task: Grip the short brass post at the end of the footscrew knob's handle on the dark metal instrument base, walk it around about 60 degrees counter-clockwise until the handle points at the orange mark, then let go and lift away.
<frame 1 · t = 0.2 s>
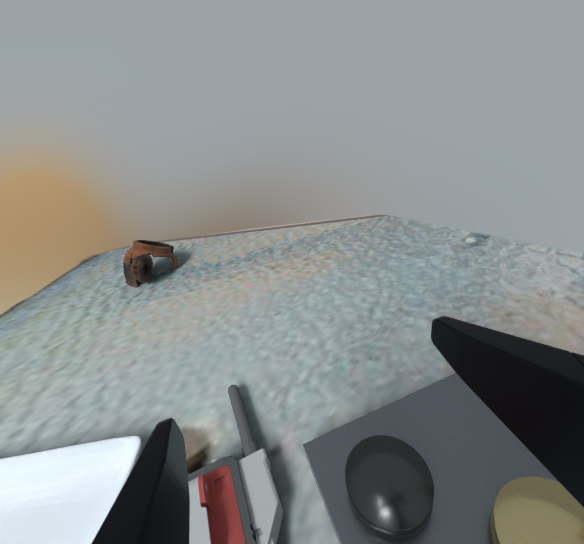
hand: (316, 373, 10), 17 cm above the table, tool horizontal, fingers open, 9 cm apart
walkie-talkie: (223, 520, 21), on the table
pottery mug: (153, 277, 58), on the table
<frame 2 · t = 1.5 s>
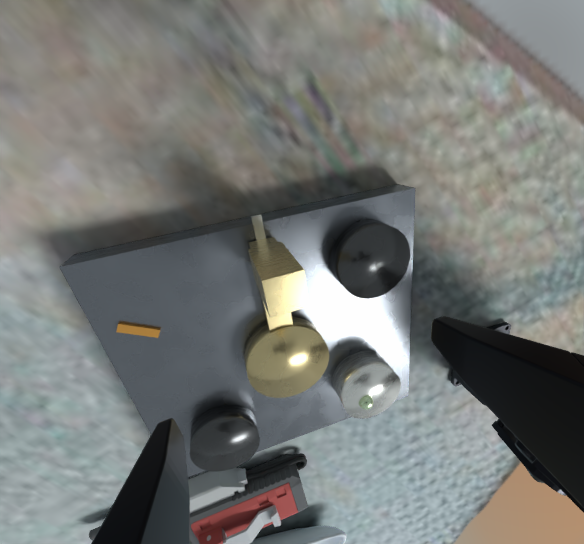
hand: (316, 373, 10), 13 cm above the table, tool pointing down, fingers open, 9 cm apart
instrument base: (277, 334, 24), on the table
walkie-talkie: (213, 491, 30), on the table
brass knob: (287, 342, 18), point 5 cm above the table, hinge at 0.0°, touching instrument base
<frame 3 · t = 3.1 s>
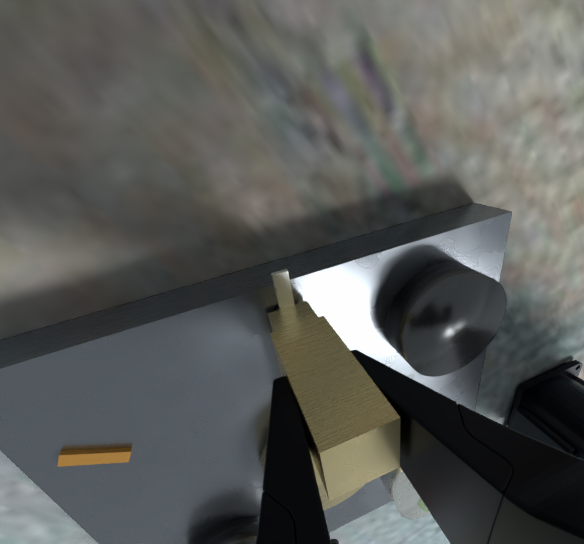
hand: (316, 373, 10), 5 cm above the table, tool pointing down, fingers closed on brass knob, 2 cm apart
instrument base: (302, 412, 17), on the table
brass knob: (333, 465, 12), point 5 cm above the table, hinge at 0.0°, touching gripper, instrument base
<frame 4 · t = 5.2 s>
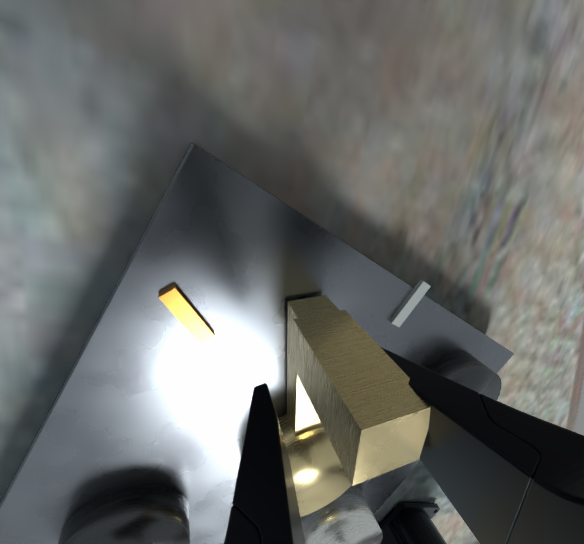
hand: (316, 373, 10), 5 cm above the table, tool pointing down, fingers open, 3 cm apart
instrument base: (287, 414, 17), on the table
brass knob: (328, 464, 12), point 5 cm above the table, hinge at 34.1°, touching gripper
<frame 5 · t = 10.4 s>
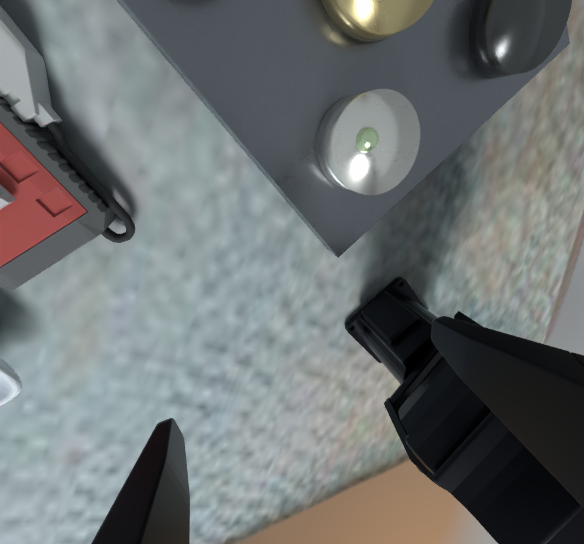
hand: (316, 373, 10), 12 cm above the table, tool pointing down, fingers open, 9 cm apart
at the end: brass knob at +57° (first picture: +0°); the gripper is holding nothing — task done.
